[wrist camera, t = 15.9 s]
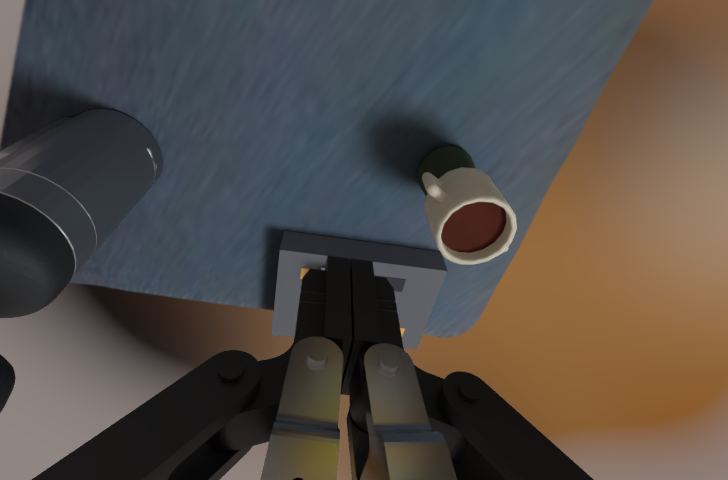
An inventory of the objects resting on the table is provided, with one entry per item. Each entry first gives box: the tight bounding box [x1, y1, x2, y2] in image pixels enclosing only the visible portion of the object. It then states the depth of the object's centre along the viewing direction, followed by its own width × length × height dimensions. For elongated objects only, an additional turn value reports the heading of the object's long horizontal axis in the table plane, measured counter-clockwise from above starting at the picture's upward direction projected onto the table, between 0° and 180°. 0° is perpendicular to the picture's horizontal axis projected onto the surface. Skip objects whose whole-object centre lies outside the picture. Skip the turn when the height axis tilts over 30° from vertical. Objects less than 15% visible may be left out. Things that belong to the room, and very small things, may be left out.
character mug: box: [418, 146, 517, 265], centre depth 40 cm, size 11×7×13 cm, turn 50°
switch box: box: [272, 231, 447, 349], centre depth 52 cm, size 20×14×4 cm
